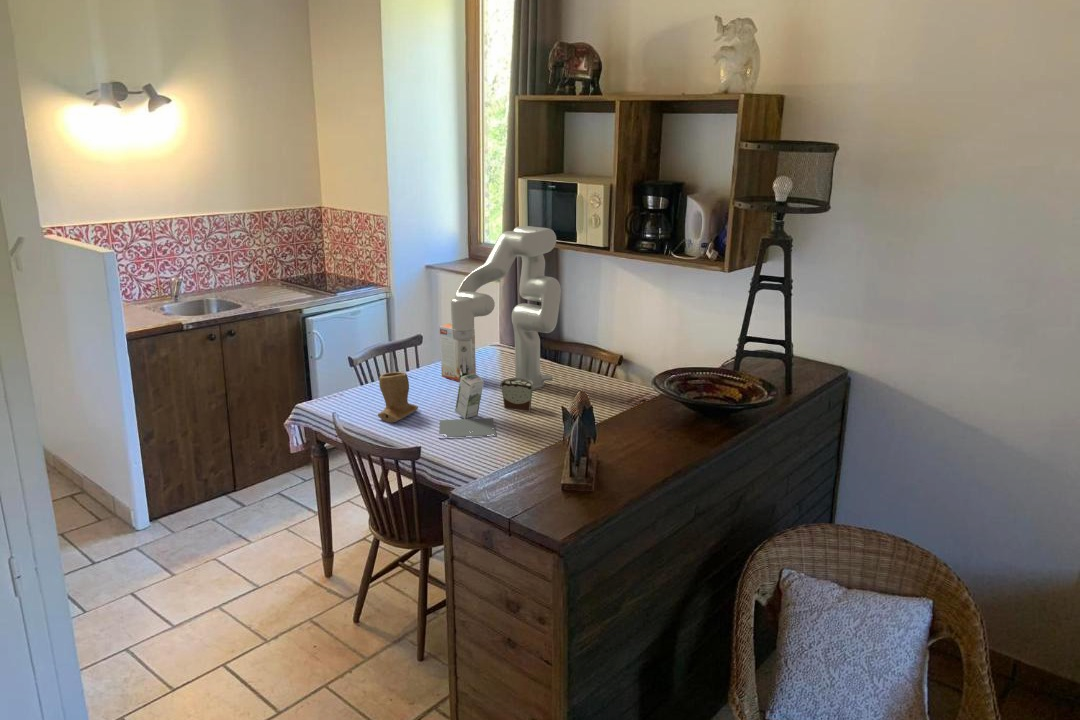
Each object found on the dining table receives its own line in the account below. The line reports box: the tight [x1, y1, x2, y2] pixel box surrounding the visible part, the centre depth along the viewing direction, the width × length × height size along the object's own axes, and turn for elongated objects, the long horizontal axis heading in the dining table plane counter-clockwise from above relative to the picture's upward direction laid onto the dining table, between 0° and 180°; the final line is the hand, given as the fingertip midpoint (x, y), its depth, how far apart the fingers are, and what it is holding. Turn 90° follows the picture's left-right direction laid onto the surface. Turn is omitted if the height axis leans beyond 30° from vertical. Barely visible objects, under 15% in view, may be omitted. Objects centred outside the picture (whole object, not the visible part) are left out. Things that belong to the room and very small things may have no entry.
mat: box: [438, 417, 497, 437], centre depth 260 cm, size 18×15×1 cm
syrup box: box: [454, 373, 485, 419], centre depth 267 cm, size 6×6×14 cm
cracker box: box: [439, 323, 477, 383], centre depth 306 cm, size 14×6×21 cm, turn 49°
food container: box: [499, 377, 534, 412], centre depth 277 cm, size 12×6×10 cm, turn 71°
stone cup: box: [377, 371, 419, 423], centre depth 269 cm, size 15×12×15 cm
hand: (464, 385), depth 270 cm, fingers closed
